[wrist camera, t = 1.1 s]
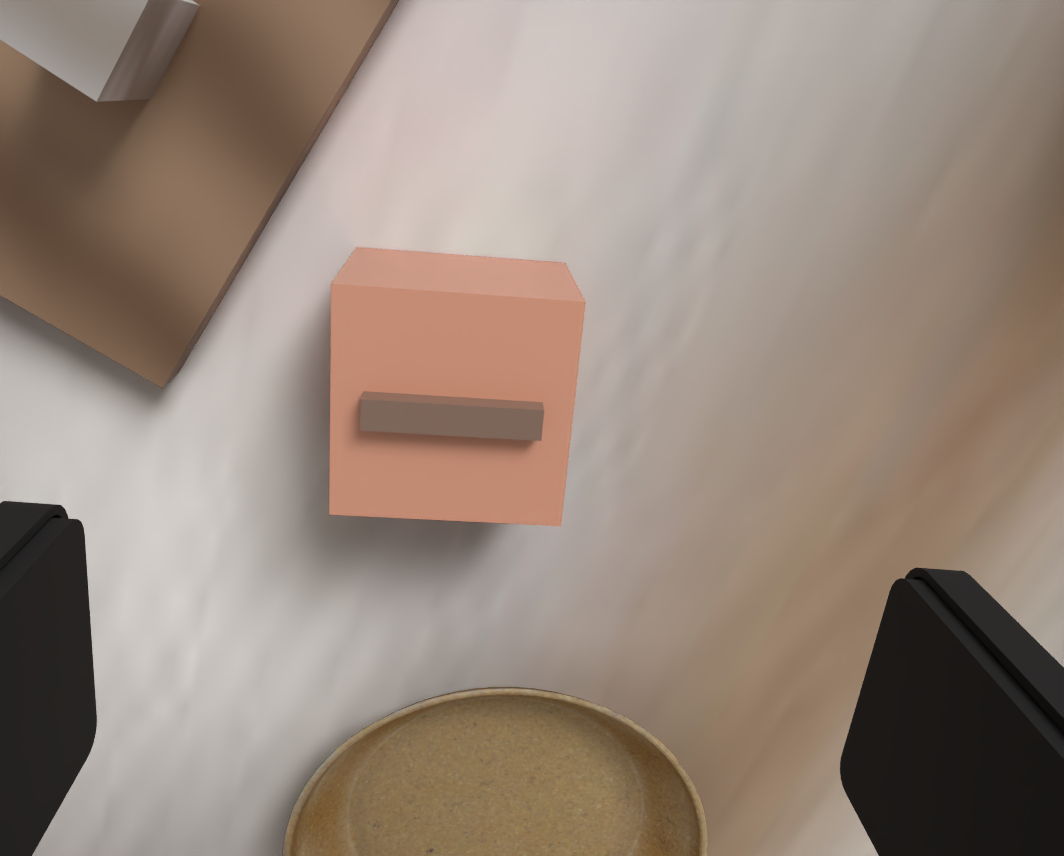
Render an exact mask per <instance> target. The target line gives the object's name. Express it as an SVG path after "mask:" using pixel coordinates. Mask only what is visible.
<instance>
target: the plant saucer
mask: <svg viewBox="0 0 1064 856" xmlns="http://www.w3.org/2000/svg"><path fill="white" fill-rule="evenodd" d="M707 845H708V840H707V826H706V820H705V813H704V810H703V807H702V803H701V800H700V797H699V795H698V792H697V790H696V788H695V786H694V784H693V782H692V781H691V779H690V777H689V776H688V774H687V773H686V771H685V770H684V768H683V767H682V765H681V764H680V763H679V761H678V760H677V759H676V757H675V756H674V755H673V754H672V753H671V752H670V751H669V750H668V749H667V748H666V747H665V746H664V745H663V744H662V743H661V742H660V741H659V740H658V739H657V738H656V737H654V736H653V735H651V734H650V733H649V732H647V731H646V730H645V729H643V728H642V727H640V726H639V725H637V724H636V723H634V722H633V721H631V720H629V719H628V718H626V717H624V716H622V715H620V714H618V713H616V712H614V711H612V710H610V709H607V708H605V707H603V706H600V705H597V704H595V703H592V702H589V701H586V700H583V699H580V698H577V697H573V696H570V695H565V694H561V693H557V692H552V691H546V690H540V689H533V688H521V687H488V688H476V689H470V690H464V691H457V692H453V693H448V694H444V695H440V696H436V697H433V698H429V699H427V700H424V701H421V702H418V703H415V704H413V705H410V706H408V707H405V708H403V709H401V710H398V711H396V712H394V713H392V714H390V715H388V716H386V717H384V718H382V719H380V720H378V721H376V722H375V723H373V724H371V725H369V726H368V727H366V728H364V729H363V730H361V731H360V732H358V733H357V734H355V735H354V736H352V737H351V738H350V739H348V740H347V741H346V742H345V743H343V744H342V745H341V746H340V747H338V748H337V749H336V750H335V751H334V752H333V753H332V754H331V755H330V756H329V757H328V758H327V759H326V760H325V761H324V762H323V763H322V764H321V765H320V767H319V768H318V769H317V770H316V771H315V773H314V774H313V775H312V777H311V778H310V780H309V781H308V782H307V784H306V786H305V787H304V789H303V790H302V792H301V794H300V796H299V797H298V800H297V802H296V803H295V805H294V808H293V810H292V813H291V816H290V819H289V822H288V826H287V830H286V834H285V839H284V845H283V852H282V856H707Z"/></svg>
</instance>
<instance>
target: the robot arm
mask: <svg viewBox="0 0 1064 856" xmlns="http://www.w3.org/2000/svg"><path fill="white" fill-rule="evenodd" d="M96 726H97V715H96V700H95V685H94V670H93V655H92V640H91V625H90V610H89V595H88V580H87V565H86V550H85V535H84V528H83V525H82V523H81V522H80V521H79V520H78V519H68V515H67V513H66V510H65V509H64V508H63V507H62V506H61V505H52V504H38V503H25V502H11V501H3V502H2V503H0V856H32V854H33V853H34V851H35V849H36V847H37V846H38V844H39V842H40V840H41V839H42V837H43V835H44V833H45V831H46V830H47V828H48V826H49V824H50V823H51V821H52V819H53V817H54V816H55V814H56V812H57V810H58V809H59V807H60V805H61V803H62V802H63V800H64V798H65V796H66V794H67V793H68V791H69V789H70V787H71V786H72V784H73V782H74V780H75V779H76V777H77V775H78V773H79V772H80V770H81V768H82V766H83V765H84V763H85V761H86V759H87V757H88V755H89V753H90V751H91V749H92V746H93V742H94V738H95V734H96ZM840 774H841V780H842V785H843V788H844V790H845V792H846V794H847V796H848V798H849V800H850V802H851V804H852V806H853V808H854V809H855V811H856V813H857V815H858V817H859V819H860V821H861V823H862V825H863V826H864V828H865V830H866V832H867V834H868V836H869V838H870V840H871V842H872V843H873V845H874V847H875V849H876V851H877V853H878V855H879V856H1064V668H1063V667H1062V666H1061V665H1060V664H1059V663H1058V662H1057V661H1056V660H1055V659H1054V658H1053V657H1052V656H1051V655H1050V654H1049V653H1048V652H1047V651H1046V650H1045V649H1044V648H1043V647H1042V646H1041V645H1040V644H1039V643H1038V642H1037V641H1036V640H1035V639H1034V638H1033V637H1032V636H1031V635H1030V634H1029V633H1028V632H1027V631H1026V630H1025V629H1024V628H1023V627H1022V626H1021V625H1020V624H1019V623H1018V622H1017V621H1016V620H1015V619H1014V618H1013V617H1012V616H1011V615H1010V614H1009V613H1008V612H1007V611H1006V610H1005V609H1004V608H1003V607H1002V606H1001V605H1000V604H999V603H998V602H997V601H996V600H995V599H994V598H993V597H992V596H991V595H990V594H989V593H988V592H986V591H985V590H984V589H983V588H982V587H981V586H980V585H979V584H978V583H977V582H976V581H975V580H974V579H973V578H972V577H971V576H970V575H969V574H967V573H966V572H964V571H954V570H941V569H927V568H914V569H913V570H911V571H910V572H909V573H908V574H907V575H906V577H905V579H901V578H900V579H898V580H896V581H895V582H894V584H893V585H892V587H891V590H890V593H889V596H888V599H887V603H886V606H885V610H884V613H883V616H882V620H881V623H880V627H879V630H878V633H877V637H876V640H875V644H874V647H873V651H872V654H871V657H870V661H869V664H868V668H867V671H866V674H865V678H864V681H863V685H862V688H861V691H860V695H859V698H858V702H857V705H856V708H855V712H854V715H853V719H852V722H851V725H850V729H849V732H848V736H847V739H846V742H845V746H844V749H843V753H842V756H841V762H840Z"/></svg>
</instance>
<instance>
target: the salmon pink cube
mask: <svg viewBox="0 0 1064 856" xmlns="http://www.w3.org/2000/svg"><path fill="white" fill-rule="evenodd" d="M584 311H585V300H584V298H583V296H582V294H581V292H580V290H579V288H578V286H577V285H576V283H575V281H574V279H573V277H572V275H571V273H570V271H569V269H568V267H567V266H566V264H565V263H559V262H545V261H532V260H519V259H506V258H493V257H479V256H466V255H453V254H440V253H427V252H413V251H400V250H387V249H374V248H361V247H356V249H355V250H354V252H353V253H352V254H351V256H350V257H349V259H348V260H347V262H346V263H345V264H344V266H343V267H342V269H341V270H340V272H339V273H338V274H337V276H336V277H335V279H334V280H333V282H332V283H331V360H330V482H329V515H346V516H366V517H387V518H407V519H427V520H448V521H468V522H488V523H509V524H529V525H549V526H561V521H562V512H563V503H564V494H565V485H566V476H567V467H568V458H569V448H570V439H571V430H572V421H573V412H574V403H575V394H576V385H577V375H578V366H579V357H580V348H581V339H582V330H583V321H584Z"/></svg>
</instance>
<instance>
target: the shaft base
mask: <svg viewBox="0 0 1064 856" xmlns="http://www.w3.org/2000/svg"><path fill="white" fill-rule="evenodd" d="M398 1H399V0H0V296H2V297H4V298H6V299H7V300H9V301H11V302H13V303H14V304H16V305H18V306H20V307H21V308H23V309H25V310H27V311H28V312H30V313H32V314H34V315H35V316H37V317H39V318H41V319H42V320H44V321H46V322H48V323H49V324H51V325H53V326H55V327H56V328H58V329H60V330H62V331H63V332H65V333H67V334H69V335H70V336H72V337H74V338H75V339H77V340H79V341H81V342H82V343H84V344H86V345H88V346H89V347H91V348H93V349H95V350H96V351H98V352H100V353H102V354H103V355H105V356H107V357H109V358H110V359H112V360H114V361H116V362H117V363H119V364H121V365H123V366H124V367H126V368H128V369H130V370H131V371H133V372H135V373H137V374H138V375H140V376H142V377H144V378H145V379H147V380H149V381H151V382H152V383H154V384H156V385H158V386H159V387H161V388H163V387H164V386H165V385H166V384H167V383H168V382H169V381H170V380H171V379H172V378H173V377H174V376H175V375H176V374H177V373H178V372H179V371H180V369H181V367H182V366H183V364H184V362H185V361H186V359H187V357H188V356H189V354H190V352H191V351H192V349H193V347H194V346H195V344H196V342H197V340H198V339H199V337H200V335H201V334H202V332H203V330H204V329H205V327H206V325H207V324H208V322H209V320H210V319H211V317H212V315H213V313H214V312H215V310H216V308H217V307H218V305H219V303H220V302H221V300H222V298H223V297H224V295H225V293H226V291H227V290H228V288H229V286H230V285H231V283H232V281H233V280H234V278H235V276H236V275H237V273H238V271H239V270H240V268H241V266H242V264H243V263H244V261H245V259H246V258H247V256H248V254H249V253H250V251H251V249H252V248H253V246H254V244H255V242H256V241H257V239H258V237H259V236H260V234H261V232H262V231H263V229H264V227H265V226H266V224H267V222H268V221H269V219H270V217H271V215H272V214H273V212H274V210H275V209H276V207H277V205H278V204H279V202H280V200H281V199H282V197H283V195H284V194H285V192H286V190H287V188H288V187H289V185H290V183H291V182H292V180H293V178H294V177H295V175H296V173H297V172H298V170H299V168H300V166H301V165H302V163H303V161H304V160H305V158H306V156H307V155H308V153H309V151H310V150H311V148H312V146H313V145H314V143H315V141H316V139H317V138H318V136H319V134H320V133H321V131H322V129H323V128H324V126H325V124H326V123H327V121H328V119H329V117H330V116H331V114H332V112H333V111H334V109H335V107H336V106H337V104H338V102H339V101H340V99H341V97H342V96H343V94H344V92H345V90H346V89H347V87H348V85H349V84H350V82H351V80H352V79H353V77H354V75H355V74H356V72H357V70H358V69H359V67H360V65H361V63H362V62H363V60H364V58H365V57H366V55H367V53H368V52H369V50H370V48H371V47H372V45H373V43H374V41H375V40H376V38H377V36H378V35H379V33H380V31H381V30H382V28H383V26H384V25H385V23H386V21H387V20H388V18H389V16H390V14H391V13H392V11H393V9H394V8H395V6H396V4H397V3H398Z"/></svg>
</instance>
